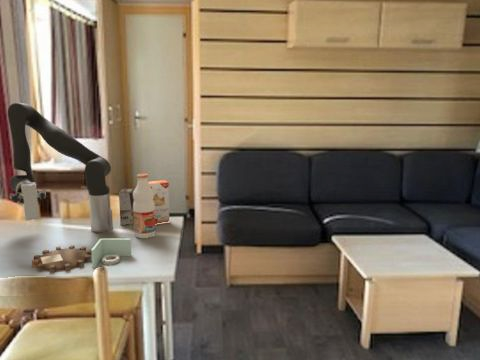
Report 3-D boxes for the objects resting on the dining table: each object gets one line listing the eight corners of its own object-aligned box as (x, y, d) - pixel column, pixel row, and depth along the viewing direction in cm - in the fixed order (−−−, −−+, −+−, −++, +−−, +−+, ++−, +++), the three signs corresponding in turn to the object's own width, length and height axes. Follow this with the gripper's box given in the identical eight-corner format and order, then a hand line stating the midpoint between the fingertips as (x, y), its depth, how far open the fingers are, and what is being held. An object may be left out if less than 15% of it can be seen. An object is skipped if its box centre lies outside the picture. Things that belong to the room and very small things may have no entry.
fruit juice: (139, 230, 207) (137, 171, 200) (159, 232, 205) (156, 172, 198) (130, 237, 198) (127, 176, 191) (150, 239, 196) (148, 177, 189)
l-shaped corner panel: (92, 268, 167) (91, 249, 165) (101, 256, 179) (100, 238, 177) (124, 268, 167) (123, 249, 166) (131, 256, 179) (130, 238, 177)
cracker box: (142, 228, 211) (140, 185, 206) (138, 224, 216) (136, 182, 211) (170, 223, 217) (168, 181, 213) (165, 220, 222) (164, 179, 218)
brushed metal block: (37, 215, 183) (34, 182, 180) (39, 218, 179) (36, 184, 176) (24, 217, 181) (20, 183, 178) (25, 220, 177) (22, 186, 173)
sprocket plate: (85, 246, 187) (85, 242, 187) (98, 264, 169) (97, 259, 169) (29, 256, 176) (28, 251, 176) (36, 277, 158) (35, 271, 158)
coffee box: (133, 224, 215) (132, 192, 211) (120, 225, 214) (118, 192, 211) (136, 219, 224) (134, 188, 220) (123, 219, 223) (121, 188, 220)
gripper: (6, 184, 186) (9, 193, 171) (43, 180, 193) (49, 188, 179) (8, 201, 187) (11, 212, 173) (45, 197, 194) (51, 206, 180)
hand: (30, 200), depth 176 cm, fingers closed on brushed metal block, 5 cm apart
